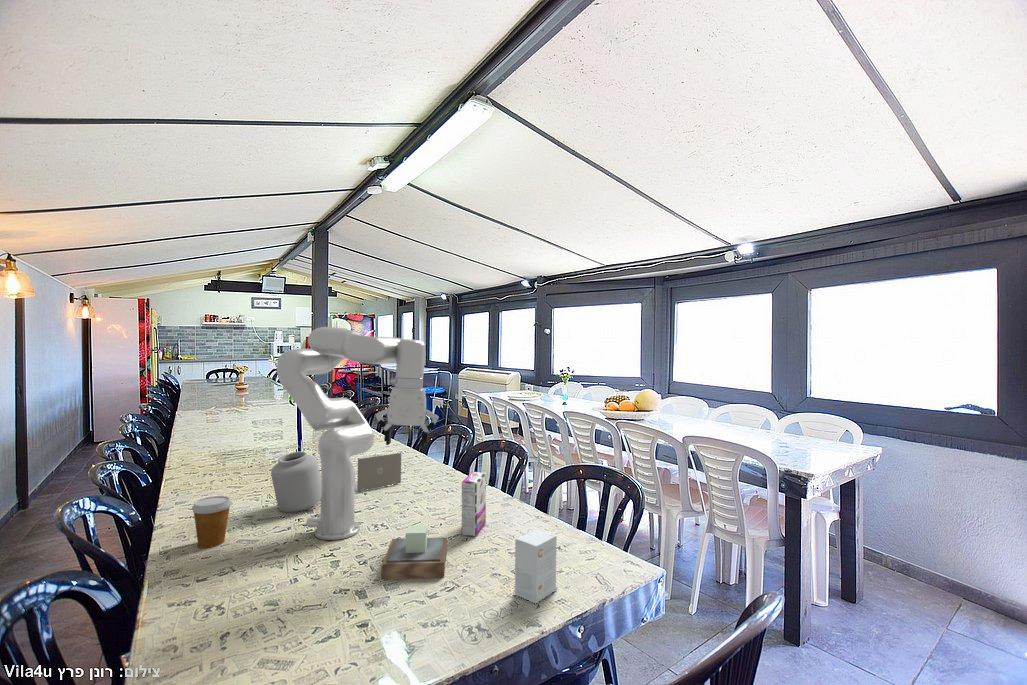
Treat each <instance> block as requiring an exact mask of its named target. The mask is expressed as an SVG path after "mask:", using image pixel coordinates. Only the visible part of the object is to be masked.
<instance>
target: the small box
mask: <svg viewBox="0 0 1027 685" xmlns="http://www.w3.org/2000/svg"><path fill="white" fill-rule="evenodd" d="M557 538H558V537H557V535H556V534H552V533H550V532H547V531H544V530H540V529H538V528H534V529H533V530H531V531H529V532H527V533H525V534H523V535H520V536H519V537H516V538H515V539H514V540H515V543H514V544H515V545H514V546H515V547H514V549H515V551H514V554H515V555H514V564H515V565H514V595H515V596H517V597H519V596H520V597H519V598H521V597H522V598H521V599H523V598H524V599H523V600H525V599H527V600H529V601H528V602H530V601H531V602H530V603H532V602H533V603H532V604H534V603H535V604H534V605H537V604H538V603H540V602H541V601H543V600H544V599H546V598H547V597H549V595H551V594H553V593H554V592H555V590H556V591H557ZM552 592H553V593H552ZM546 596H547V597H546ZM542 599H543V600H542ZM527 600H526V601H527ZM539 601H540V602H539ZM536 603H537V604H536Z"/></svg>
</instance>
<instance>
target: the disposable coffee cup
mask: <svg viewBox="0 0 1027 685" xmlns="http://www.w3.org/2000/svg"><path fill="white" fill-rule="evenodd" d="M232 504H233V503H232V500H231V497H230V496H227V495H213V496H209V497H203V498H200V499H197V500H195V501H194V502H193V506H192V507H191V510H192V513H193V517H194V524H195V531H196V538H197V547H198V548H204V549H205V548H206V549H207V548H213V547H216V546H219V545H222V544H223V543H224V542H225V538H226V532H227V525H228V522H229V521H228V519H229V514H230V508H231V506H232Z"/></svg>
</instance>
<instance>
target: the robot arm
mask: <svg viewBox="0 0 1027 685" xmlns="http://www.w3.org/2000/svg"><path fill="white" fill-rule="evenodd" d="M307 344H308V346H309V347H310V348H293V349H289V350H286V351H283V352H282V353H281V354H280V355H279V357H278V359H277V361H276V373H277V378H278V381H279V382H280V384H281V386H282V387H283V388H284V390H285V392H287V393H288V395H289V396H290V397H291V398H292V399H293V401H294V403H295V404H296V406H297V408H298V409H299V411H300V412H301V414H302V416H303V417H304V419H305V420H306V422H307V424H308V425H309V426H310V428H311V429H312V430H314V431H318V432H319V431H321V432H323V431H324V432H323V433H322V434H321V436H320V437H319V439H318V443H317V444H318V448H317V449H318V454H319V457H320V458H319V459H320V468H321V470H320V472H321V473H320V476H321V500H320V516H318V517H307V519H306V521H305V523H306V524H305V525H307V527H308V528H313V527H314V528H316V529H315V530H314V535H315V537H316V538H317V539H320V540H324V541H325V540H326V541H335V540H344V539H347V538H350V537H352V536H354V535H356V534H358V533H359V531H360V524H359V523H357V522H356V521H355V508H356V507H355V503H356V501H355V499H356V494H355V492H356V491H355V482H356V472H355V470H356V469H355V467H354V465H353V463H352V461H351V457H353V456H357V455H360V454H364V453H366V452H368V451H369V450H371V449H372V447H373V446H374V442H375V435H374V431H373V430H372V427H371V425H370V424H369V423H368V420H366V418H365V417H364V415H363V414H362V412H361V411H360V408H358V406H357V405H356V404H355V402H354V401H353V400H351V399H349V398H347V397H333V398H331V397H328V396H327V394H326V392H324V391H323V389H322V388H321V386H320V385H319V384H318V383H317V382H316V381H314V380H313V379H311V378H309V377H308V376H310V375H314V376H315V375H324V374H328V373H330V372H331V371H332V370H334V369H336V367H337V366H338V365H339V364H340V363H341V362H342V361H343V360H344V359H346V360H348V361H351V362H355V363H356V362H357V363H361V364H369V365H384V364H385V365H390V364H396V365H395V366H396V369H395V377H393V378H390V380H389V382H390V384H392V385H394V387H392V388H391V391H390V394H389V395H390V396H389V403H388V408H385V409H383V410H381V411H379V412H377V413H375V418H376V421H378V425H379V426H381V427H382V429H383V430H384V438H383V441H384V442H385V445H386V446H389V445H390V444H391V443H392V428H391V427H392V426H406V427H407V426H408V427H411V426H412V427H420V428H421V429H422V433H421V448H422V447H425V445H426V444H427V443H428V440H429V439H428V438H429V431H430V430H431V429H433V428H434V426H435V425H436V424H437V422H438V420H439V418H440V417H439V415H437V414H435V413H434V412H433V411H431V410H428V409H427V395H426V389H425V388H424V371H425V354H426V352H425V351H426V345H425V342H424V341H422V340H420V339H405V338H401V337H392V336H390V337H389V336H368V335H361V333H359V331H356V330H353V329H352V330H351V329H348V328H345V327H333V326H332V327H330V326H321V327H317V328H315V329H313V330H311V332H310V333H309V335H308V337H307ZM385 415H387V422H386V421H385V420H384V418H383V416H385ZM427 417H429V418H430V419H431V422H430V423H429V424H427V422H426V420H427Z"/></svg>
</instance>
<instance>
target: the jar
mask: <svg viewBox="0 0 1027 685" xmlns="http://www.w3.org/2000/svg"><path fill="white" fill-rule="evenodd" d="M290 438H291V439H290V441H293V437H292V436H290ZM294 444H295V446H297V447H298V448H300V445H297V443H294ZM300 449H301V450H302V449H303V448H300ZM279 450H280V452H281V451H282V450H281V448H278V451H279ZM320 472H321V470H320V468H319V461H318V459H317V458H316V457H315V456H313V455H311V454H308V452H306V451H305V450H304V451H303V450H302V451H299V450H298V451H293V452H290V453H287V454H284V455H283V456H282V455H281V457H279V458H278V459H277V463H276V464H274V466H273V467H272V468H271V471H270V476H271V480H272V484H273V490H274V494H275V500H276V504H277V507H278V509H279V510H280V511H282V512H285V513H297V512H302V511H306V510H307V509H310V508H312V507H315V506H316V505H317V504H319V502H321V473H320ZM274 513H275V512H273V513H272V514H274ZM274 518H275V519H276V516H274Z"/></svg>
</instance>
